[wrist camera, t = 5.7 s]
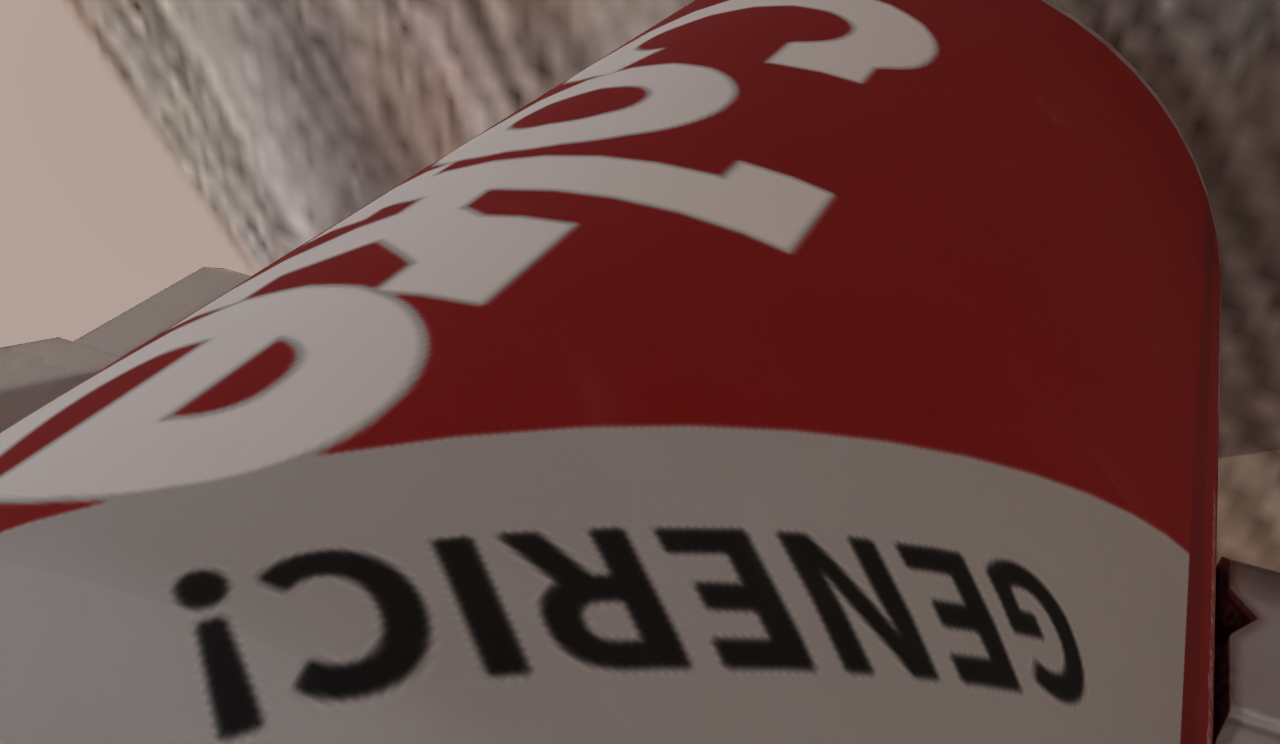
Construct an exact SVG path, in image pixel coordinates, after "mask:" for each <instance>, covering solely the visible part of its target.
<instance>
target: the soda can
mask: <svg viewBox="0 0 1280 744" xmlns="http://www.w3.org/2000/svg"><path fill="white" fill-rule="evenodd" d="M1220 330H1221V259H1220V251H1219V244H1218V236H1217V229H1216V223H1215V219H1214V215H1213V211H1212V207H1211V203H1210V199H1209V195H1208V192H1207V189H1206V186H1205V183H1204V181H1203V178H1202V176H1201V173H1200V170H1199V168H1198V165H1197V163H1196V160H1195V157H1194V155H1193V154H1192V152H1191V150H1190V148H1189V146H1188V144H1187V142H1186V140H1185V138H1184V136H1183V134H1182V132H1181V130H1180V129H1179V127H1178V125H1177V123H1176V122H1175V120H1174V119H1173V117H1172V116H1171V114H1170V113H1169V111H1168V110H1167V108H1166V107H1165V105H1164V104H1163V102H1162V101H1161V100H1160V98H1159V97H1158V95H1157V94H1156V93H1155V91H1154V90H1153V89H1152V88H1151V87H1150V85H1149V84H1148V83H1147V82H1146V81H1145V80H1144V78H1143V77H1142V76H1141V75H1140V74H1139V72H1138V71H1137V70H1136V69H1135V68H1134V66H1133V65H1132V64H1130V63H1129V62H1128V61H1127V60H1126V59H1125V58H1124V57H1123V56H1122V55H1121V54H1120V53H1119V52H1118V51H1117V50H1116V49H1115V48H1114V47H1113V46H1112V45H1111V44H1110V43H1109V42H1107V41H1106V40H1105V39H1104V38H1103V37H1101V36H1100V35H1099V34H1097V33H1096V32H1095V31H1094V30H1092V29H1091V28H1090V27H1088V26H1087V25H1086V24H1085V23H1083V22H1082V21H1081V20H1079V19H1078V18H1077V17H1075V16H1074V15H1072V14H1070V13H1069V12H1067V11H1066V10H1064V9H1062V8H1061V7H1059V6H1058V5H1056V4H1054V3H1053V2H1051V1H1049V0H695V1H693V2H692V3H690V4H689V5H687V6H685V7H684V8H682V9H681V10H679V11H677V12H676V13H674V14H672V15H671V16H669V17H668V18H666V19H664V20H663V21H661V22H660V23H658V24H656V25H655V26H653V27H652V28H650V29H648V30H647V31H645V32H644V33H642V34H640V35H639V36H637V37H636V38H634V39H632V40H631V41H629V42H627V43H626V44H624V45H623V46H621V47H619V48H618V49H616V50H615V51H613V52H611V53H610V54H608V55H607V56H605V57H603V58H602V59H600V60H599V61H597V62H595V63H594V64H592V65H591V66H589V67H587V68H586V69H584V70H582V71H581V72H579V73H578V74H576V75H574V76H573V77H571V78H570V79H568V80H566V81H565V82H563V83H562V84H560V85H558V86H557V87H555V88H554V89H552V90H550V91H549V92H547V93H546V94H544V95H542V96H541V97H539V98H537V99H536V100H534V101H533V102H531V103H529V104H528V105H526V106H525V107H523V108H521V109H520V110H518V111H517V112H515V113H513V114H512V115H510V116H509V117H507V118H505V119H504V120H502V121H501V122H499V123H497V124H496V125H494V126H492V127H491V128H489V129H488V130H486V131H484V132H483V133H481V134H480V135H478V136H476V137H475V138H473V139H472V140H470V141H468V142H467V143H465V144H464V145H462V146H460V147H459V148H457V149H456V150H454V151H452V152H451V153H449V154H447V155H446V156H444V157H443V158H441V159H439V160H438V161H436V162H435V163H433V164H431V165H430V166H428V167H427V168H425V169H423V170H422V171H420V172H419V173H417V174H415V175H414V176H412V177H411V178H409V179H407V180H406V181H404V182H403V183H401V184H399V185H398V186H396V187H394V188H393V189H391V190H390V191H388V192H386V193H385V194H383V195H382V196H380V197H378V198H377V199H375V200H374V201H372V202H370V203H369V204H367V205H366V206H364V207H362V208H361V209H359V210H358V211H356V212H354V213H353V214H351V215H349V216H348V217H346V218H345V219H343V220H341V221H340V222H338V223H337V224H335V225H333V226H332V227H330V228H329V229H327V230H325V231H324V232H322V233H321V234H319V235H317V236H316V237H314V238H313V239H311V240H309V241H308V242H306V243H304V244H303V245H301V246H300V247H298V248H296V249H295V250H293V251H292V252H290V253H288V254H287V255H285V256H284V257H282V258H280V259H279V260H277V261H276V262H274V263H272V264H271V265H269V266H268V267H266V268H264V269H263V270H261V271H259V272H258V273H256V274H255V275H253V276H251V277H250V278H248V279H247V280H245V281H243V282H242V283H240V284H239V285H237V286H235V287H234V288H232V289H231V290H229V291H227V292H226V293H224V294H223V295H221V296H219V297H218V298H216V299H214V300H213V301H211V302H210V303H208V304H206V305H205V306H203V307H202V308H200V309H198V310H197V311H195V312H194V313H192V314H190V315H189V316H187V317H186V318H184V319H182V320H181V321H179V322H178V323H176V324H174V325H173V326H171V327H169V328H168V329H166V330H165V331H163V332H161V333H160V334H158V335H157V336H155V337H153V338H152V339H150V340H149V341H147V342H145V343H144V344H142V345H141V346H139V347H137V348H136V349H134V350H133V351H131V352H129V353H128V354H126V355H124V356H123V357H121V358H120V359H118V360H116V361H115V362H113V363H112V364H110V365H108V366H107V367H105V368H104V369H102V370H100V371H99V372H97V373H96V374H94V375H92V376H91V377H89V378H88V379H86V380H84V381H83V382H81V383H79V384H78V385H76V386H75V387H73V388H71V389H70V390H68V391H67V392H65V393H63V394H62V395H60V396H59V397H57V398H55V399H54V400H52V401H51V402H49V403H47V404H46V405H44V406H43V407H41V408H39V409H38V410H36V411H34V412H33V413H31V414H30V415H28V416H26V417H25V418H23V419H22V420H20V421H18V422H17V423H15V424H14V425H12V426H10V427H9V428H7V429H6V430H4V431H2V432H1V433H0V744H1213V707H1214V653H1215V599H1216V545H1217V491H1218V438H1219V384H1220Z"/></svg>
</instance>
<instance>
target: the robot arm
mask: <svg viewBox="0 0 1280 744" xmlns="http://www.w3.org/2000/svg"><path fill="white" fill-rule="evenodd" d="M250 277H251V276H249V275H246V274H242V273H238V272H235V271H231V270H227V269H224V268H210V267H203V268H201V269H199V270H198V271H196V272H194V273H192V274H191V275H189V276H187V277H185V278H184V279H182V280H180V281H178V282H177V283H175V284H173V285H171V286H170V287H168V288H166V289H164V290H163V291H161V292H159V293H157V294H156V295H154V296H152V297H150V298H149V299H147V300H145V301H143V302H142V303H140V304H138V305H136V306H135V307H133V308H131V309H129V310H128V311H126V312H124V313H122V314H121V315H119V316H117V317H115V318H114V319H112V320H110V321H108V322H107V323H105V324H103V325H101V326H100V327H98V328H96V329H95V330H93V331H91V332H89V333H87V334H86V335H84V336H82V337H80V338H79V339H77V340H75V341H73V342H72V341H69V340H65V339H62V338H59V337H57V338H52V339H46V340H41V341H35V342H30V343H25V344H19V345H13V346H8V347H2V348H0V433H1V432H2V431H4V430H6V429H7V428H9V427H10V426H12V425H14V424H15V423H17V422H18V421H20V420H22V419H23V418H25V417H26V416H28V415H30V414H31V413H33V412H34V411H36V410H38V409H39V408H41V407H43V406H44V405H46V404H47V403H49V402H51V401H52V400H54V399H55V398H57V397H59V396H60V395H62V394H63V393H65V392H67V391H68V390H70V389H71V388H73V387H75V386H76V385H78V384H79V383H81V382H83V381H84V380H86V379H88V378H89V377H91V376H92V375H94V374H96V373H97V372H99V371H100V370H102V369H104V368H105V367H107V366H108V365H110V364H112V363H113V362H115V361H116V360H118V359H120V358H121V357H123V356H124V355H126V354H128V353H129V352H131V351H133V350H134V349H136V348H137V347H139V346H141V345H142V344H144V343H145V342H147V341H149V340H150V339H152V338H153V337H155V336H157V335H158V334H160V333H161V332H163V331H165V330H166V329H168V328H169V327H171V326H173V325H174V324H176V323H178V322H179V321H181V320H182V319H184V318H186V317H187V316H189V315H190V314H192V313H194V312H195V311H197V310H198V309H200V308H202V307H203V306H205V305H206V304H208V303H210V302H211V301H213V300H214V299H216V298H218V297H219V296H221V295H223V294H224V293H226V292H227V291H229V290H231V289H232V288H234V287H235V286H237V285H239V284H240V283H242V282H243V281H245V280H247V279H248V278H250ZM1213 744H1280V572H1277V571H1273V570H1270V569H1266V568H1262V567H1259V566H1255V565H1251V564H1247V563H1244V562H1240V561H1236V560H1232V559H1229V558H1225V557H1222V558H1221V559H1220V561H1219V563H1218V564H1217V566H1216V599H1215V653H1214V707H1213Z"/></svg>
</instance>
